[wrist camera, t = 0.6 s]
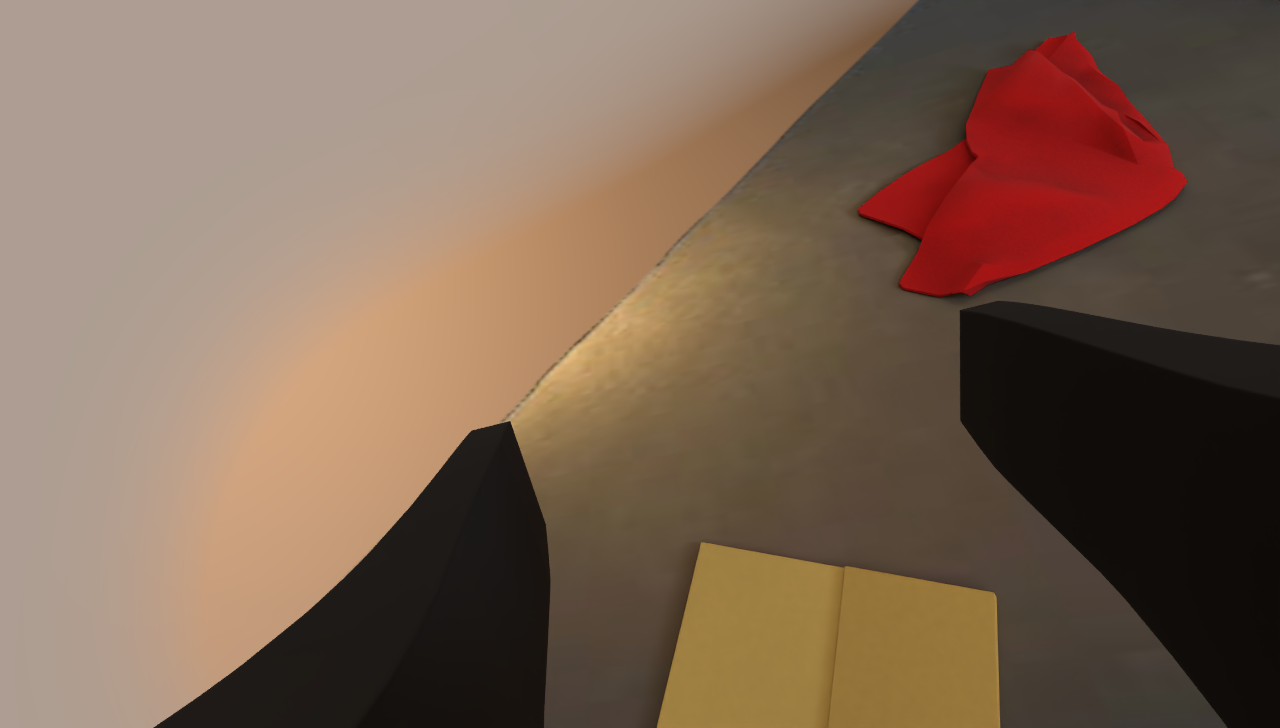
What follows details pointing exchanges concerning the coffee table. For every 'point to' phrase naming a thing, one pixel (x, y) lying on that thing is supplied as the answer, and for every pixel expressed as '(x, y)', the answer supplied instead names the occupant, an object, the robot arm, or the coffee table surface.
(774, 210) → the coffee table surface
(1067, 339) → the robot arm
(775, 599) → the envelope
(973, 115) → the cloth
